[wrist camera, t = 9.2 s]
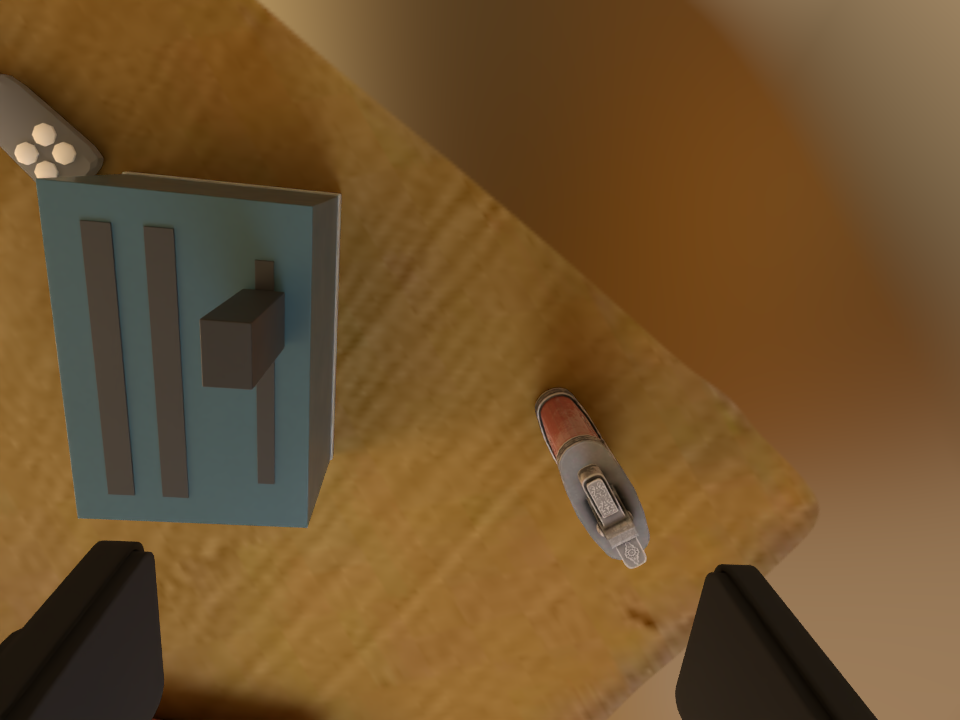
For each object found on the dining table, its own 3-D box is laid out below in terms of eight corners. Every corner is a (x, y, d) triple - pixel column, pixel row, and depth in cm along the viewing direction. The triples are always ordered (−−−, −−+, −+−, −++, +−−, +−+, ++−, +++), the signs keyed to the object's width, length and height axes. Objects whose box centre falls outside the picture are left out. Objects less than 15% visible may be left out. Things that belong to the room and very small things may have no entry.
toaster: (341, 193, 33) (314, 204, 25) (333, 455, 38) (309, 531, 30) (127, 171, 31) (30, 175, 24) (148, 445, 36) (74, 521, 29)
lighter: (621, 475, 40) (680, 573, 30) (576, 497, 40) (621, 601, 31) (570, 378, 37) (618, 452, 28) (523, 403, 38) (554, 484, 28)
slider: (285, 291, 26) (251, 322, 21) (284, 348, 27) (252, 390, 22) (242, 288, 26) (198, 318, 21) (243, 345, 27) (201, 387, 22)
